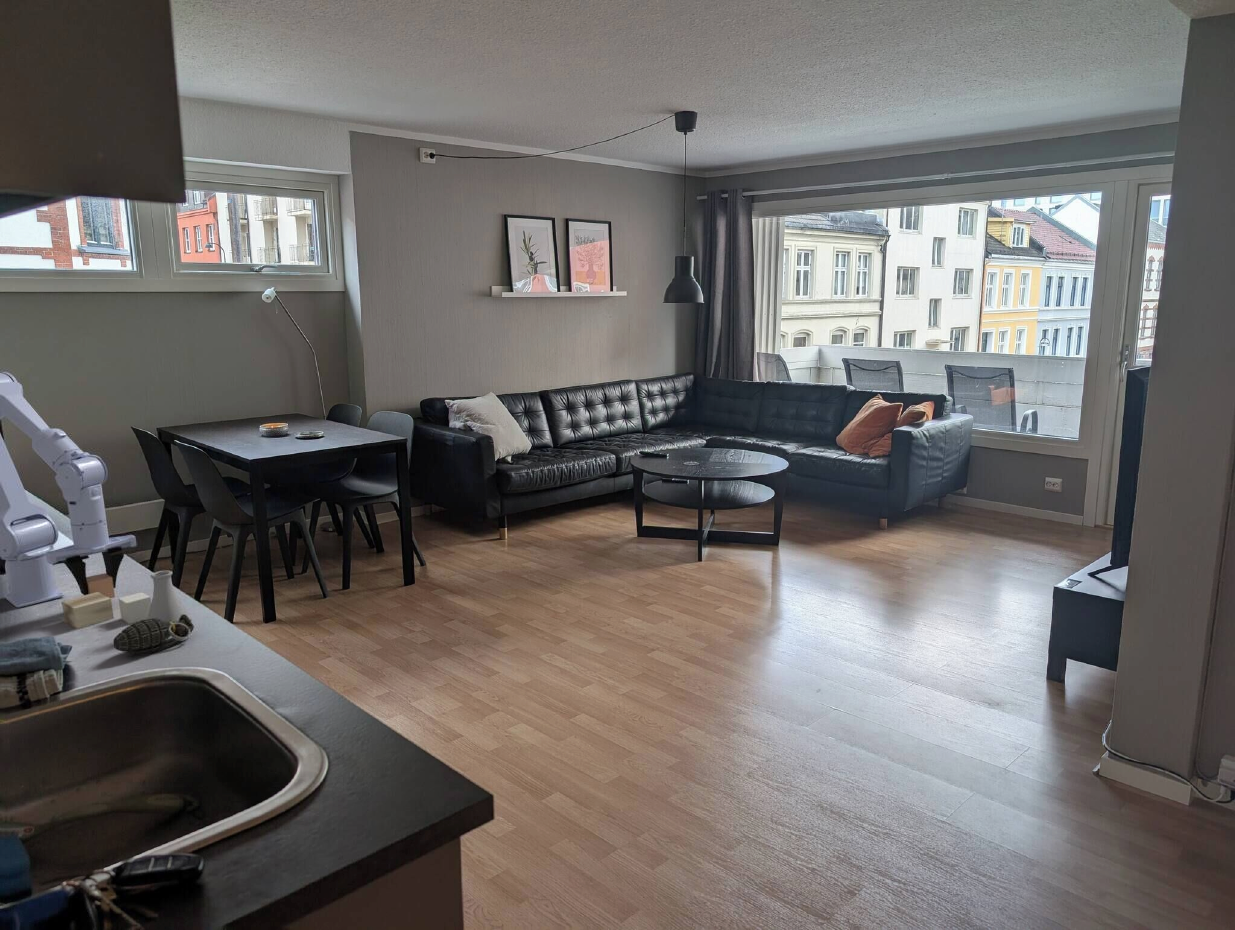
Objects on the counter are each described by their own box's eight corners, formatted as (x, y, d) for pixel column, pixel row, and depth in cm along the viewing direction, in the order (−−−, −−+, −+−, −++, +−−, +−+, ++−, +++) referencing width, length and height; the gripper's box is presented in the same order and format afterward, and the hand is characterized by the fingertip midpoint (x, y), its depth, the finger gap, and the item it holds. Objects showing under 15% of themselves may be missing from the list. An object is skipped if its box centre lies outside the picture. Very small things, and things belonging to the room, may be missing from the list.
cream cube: (121, 618, 155) (118, 598, 154) (144, 612, 158) (141, 592, 157) (129, 624, 153) (126, 603, 152) (153, 617, 156) (150, 596, 155)
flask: (172, 636, 147) (164, 581, 145) (135, 633, 148) (128, 579, 146) (200, 620, 154) (193, 567, 152) (165, 618, 155) (158, 565, 153)
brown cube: (84, 598, 162) (81, 578, 161) (107, 592, 165) (104, 572, 164) (91, 603, 159) (88, 582, 158) (114, 597, 162) (112, 577, 161)
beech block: (64, 622, 155) (61, 601, 154) (100, 612, 159) (97, 591, 158) (77, 629, 151) (74, 608, 150) (114, 619, 155) (110, 598, 155)
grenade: (114, 621, 137) (186, 602, 146) (105, 640, 139) (176, 620, 149) (131, 652, 135) (203, 630, 145) (121, 670, 137) (193, 648, 147)
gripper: (50, 533, 151) (61, 606, 154) (138, 517, 161) (147, 584, 164) (38, 526, 155) (49, 597, 158) (124, 511, 166) (133, 577, 169)
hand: (98, 590), depth 162 cm, fingers closed on brown cube, 4 cm apart
